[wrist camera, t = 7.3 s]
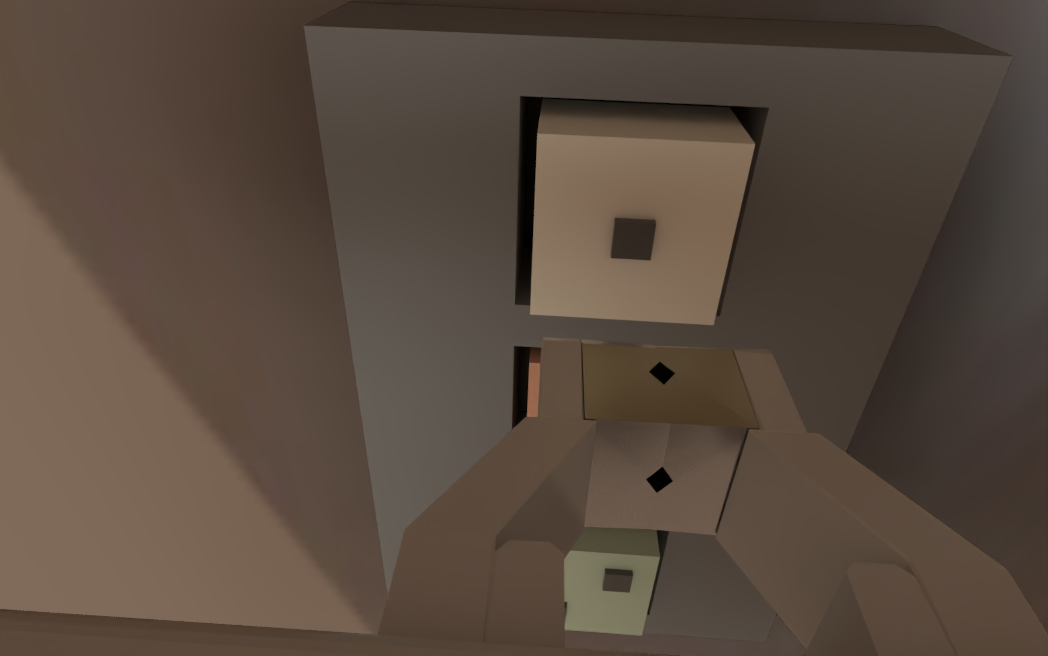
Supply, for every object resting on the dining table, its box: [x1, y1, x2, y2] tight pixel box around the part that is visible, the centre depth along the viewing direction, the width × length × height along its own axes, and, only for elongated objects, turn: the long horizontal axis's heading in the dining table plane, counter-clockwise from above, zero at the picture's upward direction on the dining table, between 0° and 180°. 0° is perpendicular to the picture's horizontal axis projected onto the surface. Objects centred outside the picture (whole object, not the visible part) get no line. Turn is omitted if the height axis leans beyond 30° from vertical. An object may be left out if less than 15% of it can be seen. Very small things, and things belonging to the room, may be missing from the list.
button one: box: [530, 99, 755, 325], centre depth 14 cm, size 4×4×3 cm
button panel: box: [304, 2, 1014, 643], centre depth 19 cm, size 13×19×3 cm
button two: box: [564, 527, 660, 636], centre depth 21 cm, size 4×4×3 cm
